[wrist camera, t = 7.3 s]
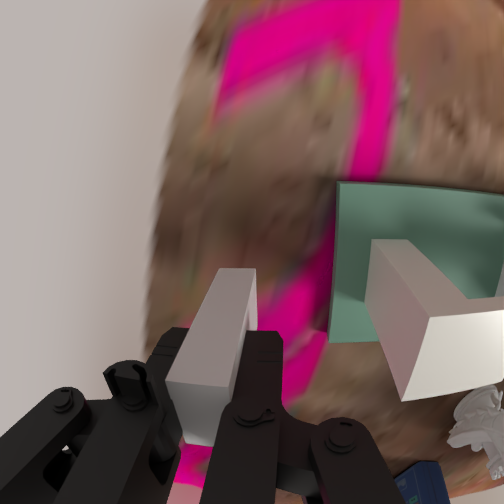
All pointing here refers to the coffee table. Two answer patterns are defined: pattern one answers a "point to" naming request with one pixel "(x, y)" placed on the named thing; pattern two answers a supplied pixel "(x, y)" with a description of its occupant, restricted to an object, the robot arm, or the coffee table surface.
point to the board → (420, 235)
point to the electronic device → (423, 484)
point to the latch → (431, 325)
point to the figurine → (481, 426)
